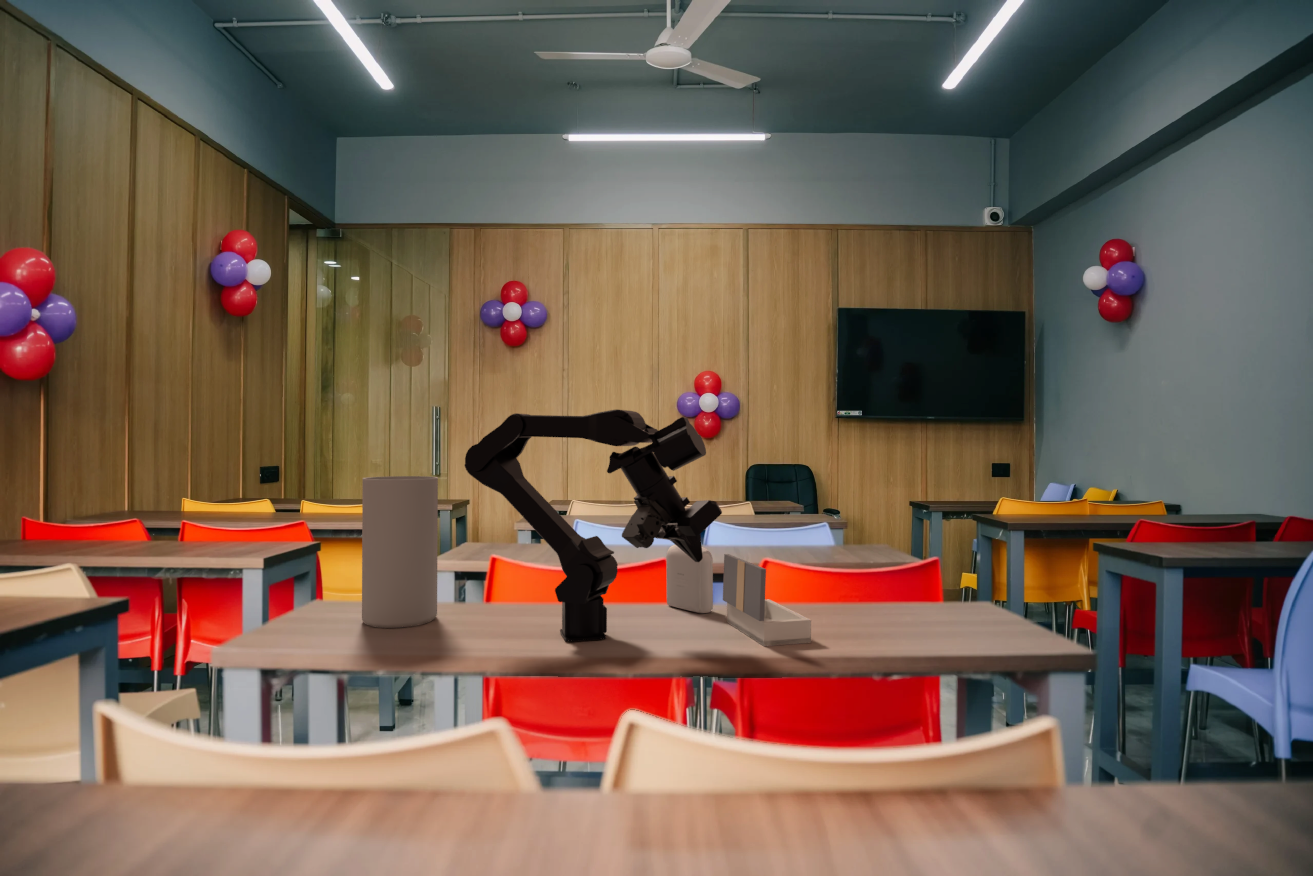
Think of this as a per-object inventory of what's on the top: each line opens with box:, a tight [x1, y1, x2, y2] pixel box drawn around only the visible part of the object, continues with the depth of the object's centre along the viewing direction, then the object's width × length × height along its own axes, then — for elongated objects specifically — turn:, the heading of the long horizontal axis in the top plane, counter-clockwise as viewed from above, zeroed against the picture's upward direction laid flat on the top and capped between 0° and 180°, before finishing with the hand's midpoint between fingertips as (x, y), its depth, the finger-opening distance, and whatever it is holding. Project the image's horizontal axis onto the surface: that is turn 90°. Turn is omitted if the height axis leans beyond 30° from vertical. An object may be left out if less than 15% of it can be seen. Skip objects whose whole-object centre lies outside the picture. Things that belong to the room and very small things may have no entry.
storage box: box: [726, 598, 812, 647], centre depth 126 cm, size 8×16×4 cm, turn 16°
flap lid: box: [722, 553, 767, 621], centre depth 125 cm, size 8×16×1 cm
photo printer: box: [665, 544, 714, 614], centre depth 143 cm, size 10×4×12 cm, turn 39°
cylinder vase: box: [361, 475, 439, 629], centre depth 133 cm, size 12×12×25 cm
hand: (699, 560), depth 124 cm, fingers closed
